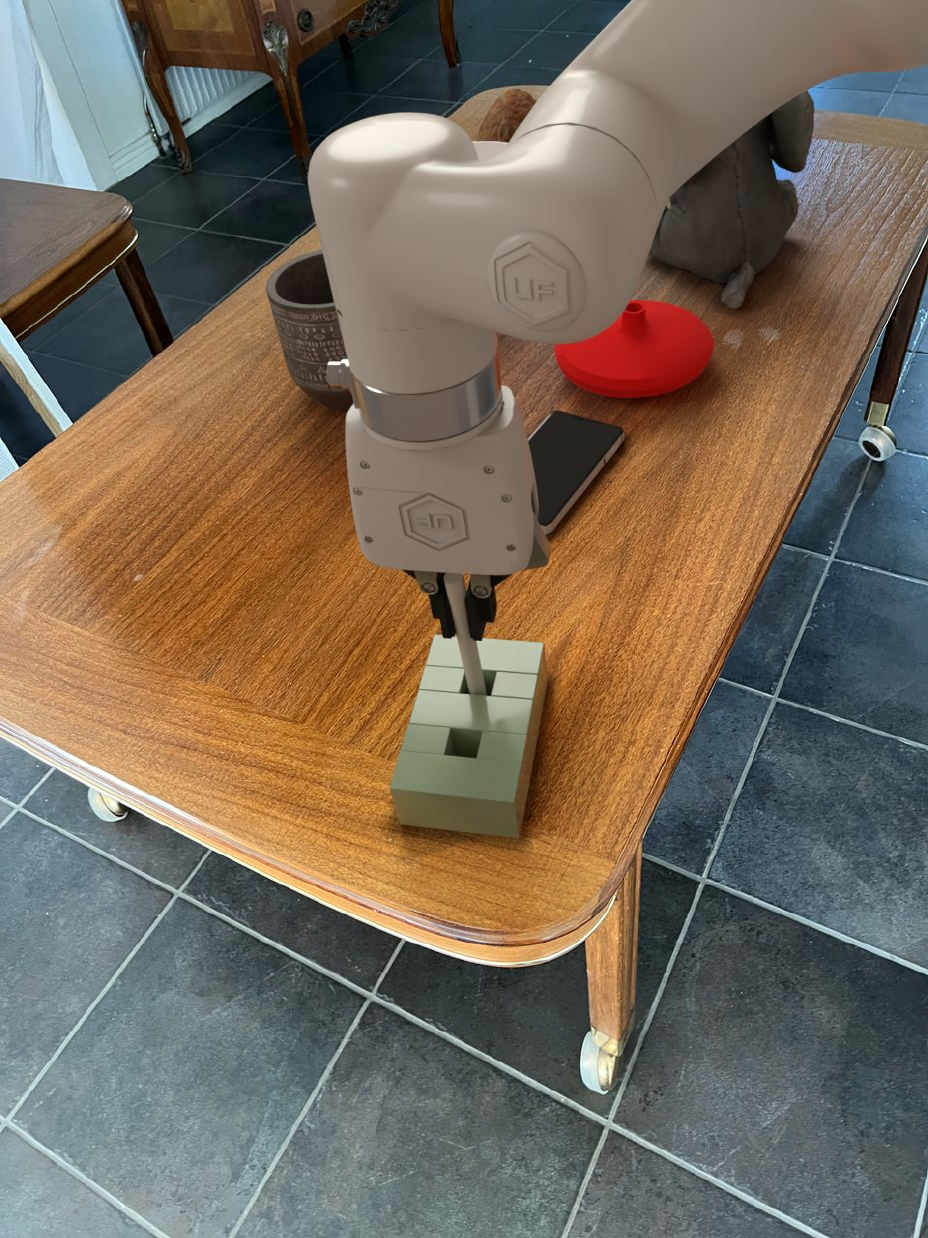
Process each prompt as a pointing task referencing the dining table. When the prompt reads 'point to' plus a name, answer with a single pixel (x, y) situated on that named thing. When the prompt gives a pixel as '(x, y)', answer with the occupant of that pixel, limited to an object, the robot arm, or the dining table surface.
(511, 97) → the coconut
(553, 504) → the smartphone
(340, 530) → the dining table surface
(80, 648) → the dining table surface
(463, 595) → the grey cylindrical rod
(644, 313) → the red disc with nozzle
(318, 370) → the planter
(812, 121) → the stuffed elephant
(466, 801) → the pen holder
